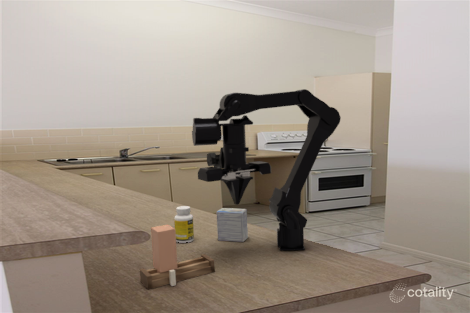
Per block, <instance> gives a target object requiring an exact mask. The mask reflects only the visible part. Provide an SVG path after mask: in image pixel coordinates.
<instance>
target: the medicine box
mask: <svg viewBox="0 0 470 313" xmlns="http://www.w3.org/2000/svg"><path fill="white" fill-rule="evenodd" d="M247 212H248V210H247V208H232V207H231V208H230V207H222V208H220V209H218V210H217V211H216V228H217V230H216V231H217V241H225V242H226V241H227V242H238V243H240V242H241V243H244V242H245V241H246V240H247V239H248V238H249V232H248V231H249V230H248V229H249V228H248V213H247Z"/></svg>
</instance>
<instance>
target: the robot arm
mask: <svg viewBox="0 0 470 313" xmlns="http://www.w3.org/2000/svg"><path fill="white" fill-rule="evenodd" d="M291 106H297V108H299V109H300V111H301V112H302V113H303V115H305V116H306V118H308V122H307V126H306V128H307V129H306V137H305V140H304V142H303V143H302V146H301V148H300V151H299V153H298V155H297V157H296V159H295V162H294V164H293V165H292V168H291V170H290V172H289V175H288V177H287V178H286V181H285V183H284V184H283V185H282V186H281V187H280V188H278V187H274V189H273V192H272V195H271V197H270V198H269V199H268V201H269V205H268V208H269V212H270V213H271V214H272V216H274V217H275V218H276V221H277V222H278V228H277V229H276V244H277V247H279V251H305V250H306V246H305V242H304V241H305V239H304V228H306V226H307V222H308V219H307V218H306V217H305V216H304V215H303V214H301V212H299V211H300V208H301V204H302V191H303V188H304V186H305V184H306V182H307V179H308V177H309V176H310V173H311V171H312V169H313V166H314V164H315V162H316V159H317V157H318V156H319V154H320V151H321V149H322V147H323V144H324V143H325V141H327V139H329V138H330V137H331V136H332V135H334V133H335V131H336V130H337V128H338V126H339V125H340V122H341V115H340V112H339V111H338V109H337V108H335V107H332V106H330V105H328V103H326V102H325V101H323V100H321V99H320V98H319V97H317V96H315V95H314V93H312V92H311V91H310V90H308V89H297V90H295V91H283V92H282V91H281V92H274V93H263V94H254V93H246V92H245V93H243V92H232V93H231V92H230V93H227V94H225V95H223V96H222V98H221V99H220V101H219V108H218V109H217V111H216V112H215V114H214V115H213V116H212V117H208V118H202V117H193V119H192V130H191V138H192V143H193V146H195V147H197V146H198V147H199V146H210V145H211V146H213V145H214V146H216V145H217V144H218V142H220V141H221V140H222V146H223V147H220V150H219V154H217V153H216V152H209V153H207V154H206V163H207V164H206V165H207V166H208V167H200V168H199V170H197V180H200V181H204V182H207V183H208V182H209V183H211V182H217V181H219V182H220V181H222V182H223V183H224V184H225V185H226V187H227V189H228V192H229V194H230V197H231V200H232V202H233V204H234V205H235V206H237V205H240V203H241V200H242V198H243V196H244V193H245V191H246V189H247V188H248V185H249V183H250V182H251V180H254V176H251V173H256V172H259V173H260V175H262V176H263V175H269V174H272V166H271V163H270V162H266V161H259V160H258V161H249V162H248V163H247V153H248V152H249V151H250V150H249V146H246V145H247V144H246V143H247V142H246V126H251V125H253V124H254V122H253V120H251V119H250V118H249V117H248V116H247V115H246V114H250V113H253V112H256V111H258V110H265V109H272V108H273V109H274V108H281V107H291ZM240 116H242V117H241V118H233V117H240ZM227 121H229V122H227ZM220 122H224V123H220ZM225 122H227V123H225Z"/></svg>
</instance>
